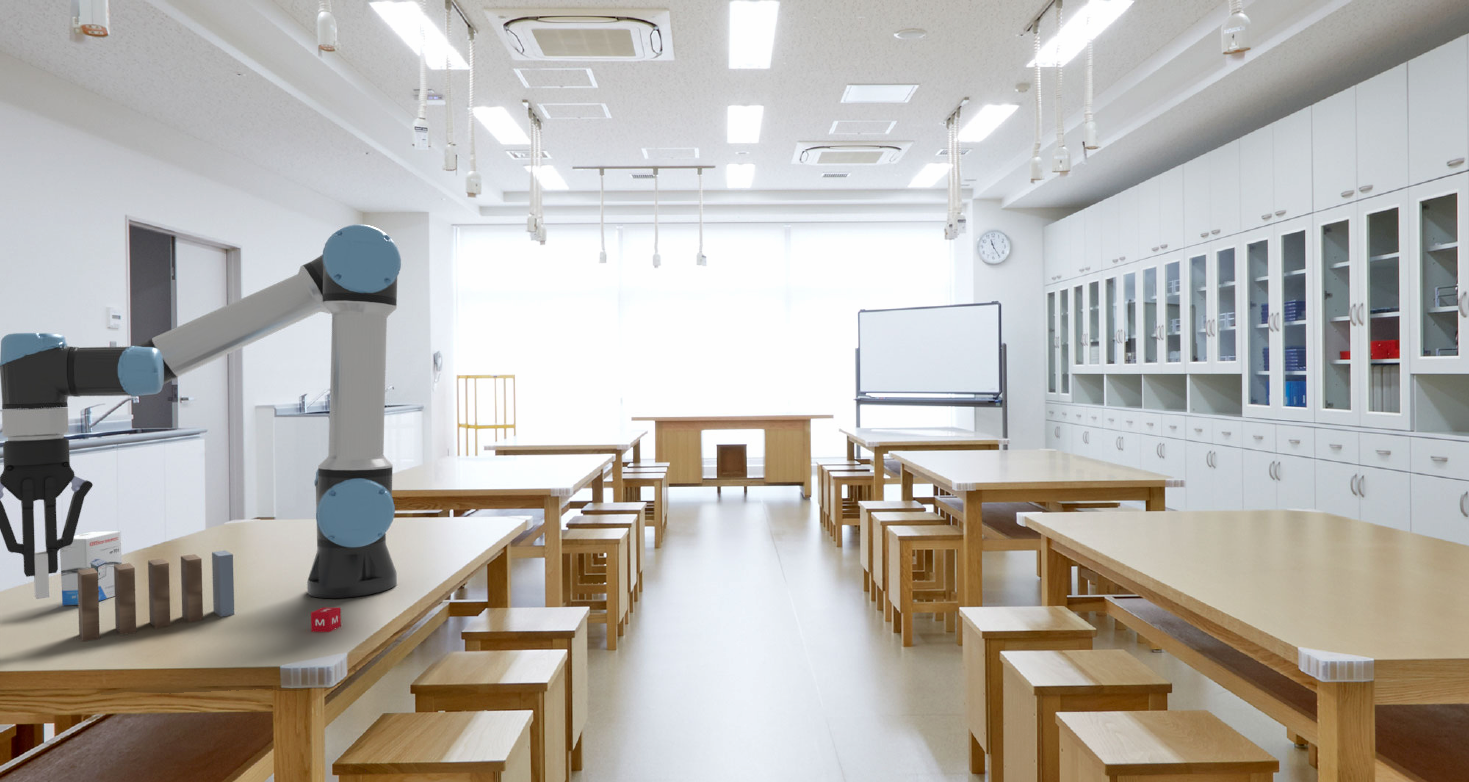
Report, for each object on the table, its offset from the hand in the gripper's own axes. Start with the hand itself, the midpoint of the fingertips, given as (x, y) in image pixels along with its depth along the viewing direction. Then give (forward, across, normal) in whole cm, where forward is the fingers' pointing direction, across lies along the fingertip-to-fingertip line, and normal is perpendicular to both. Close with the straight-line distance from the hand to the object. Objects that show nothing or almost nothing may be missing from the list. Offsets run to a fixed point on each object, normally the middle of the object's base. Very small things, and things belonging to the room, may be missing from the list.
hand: (42, 596), depth 124 cm
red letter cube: (+8, -32, +23) cm, 40 cm away
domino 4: (+7, -23, 0) cm, 25 cm away
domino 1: (+7, -10, 0) cm, 12 cm away
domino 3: (+7, -19, 0) cm, 20 cm away
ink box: (+7, -9, -28) cm, 31 cm away
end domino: (+7, -5, 0) cm, 9 cm away
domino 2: (+7, -14, 0) cm, 16 cm away
